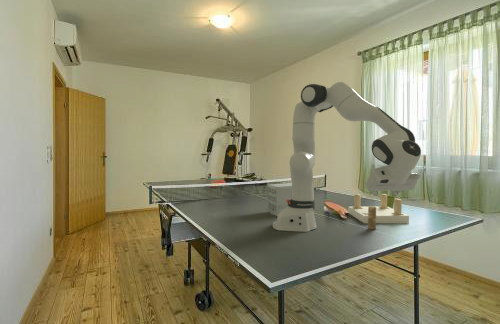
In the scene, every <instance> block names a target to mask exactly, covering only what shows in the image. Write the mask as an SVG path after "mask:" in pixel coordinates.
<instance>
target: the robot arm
mask: <svg viewBox="0 0 500 324" xmlns="http://www.w3.org/2000/svg"><path fill="white" fill-rule="evenodd" d="M300 100H301V101H299V102H298V103H296V104H295V106H294V110H293V118H292V145H293V154H292V155H291V156H290V157H289V158H290V159H289V170H290V172H289V173H290V178H291V179H290V181H291V183H292V199H290V200H289V199H287V200H286V202H287V203H288V207H286V208H285V209H284V210H282V211H281V212H280V213H279V214H278V216H277V218H276V221H273V222H272V228H273V229H274V230H277V231H285V232H286V231H287V232H301V233H302V232H304V233H305V232H306V233H308V232H310V231H312V230H315V229H317V222H316V218H315V208H316V207H315V206H316V205H315V199H314V198H315V197H314V196H315V195H314V194H315V193H314V190H315V187H314V186H315V184H314V174H313V168H314V167H315V165H316V142H315V133H316V131H315V129H316V115H317V113H322V112H324V111H327V110H330V109H332V108H334V109H335V110H336V111H337V112H338V114H339V115H340V116H341V117H342V118H343V119H345V120H346V121H349V122H370V123H371V122H372V123H373V124H375V125H377V126H378V127H379V128H380V129H381V130H382V131H383V132H385V133H386V134H385V135H383V136H381V137H378V138H376V139H375V140H373V141H372V143H371V152H372V155H373V156H374V157H375V158H376V159H377V160H378V161H380V162H382V163H383V164H385V165H384V166H381V167H377V168H373V169H372V173H371V174H370V175H369V176H368V177H367V179H366V182H365V187H366V188H365V189H366V190H367V191H368V192H372V195H373V196H378V194H379V193H378V191H379V192H380V191H382V192H385V191H386V192H387V191H388V192H389V191H392V192H393V195H394V196H398V195H399V194H400V193H402V192H404V191H412V190H414V189H415V188H416V186H417V184H418V180H419V179H420V177H421V175H420V174H419V173H417V172H416V173H412V171H413V170H414V169H415V168H416V167H417V165H418V163H419V161H420V158H421V156H422V149H421V146H420V145H419V144H418V143H417V142H416V138H415V135H414V133H413V132H412V131H411V130H410V129H409V128H407V127H404V126H402V125H401V124H400V123H399V122H398V121H396V120H395V119H394V118H392V116H390V115H389V114H388V113H386V111H384V110H383V109H381V108H380V107H379V106H377V105H376V104H373V103H370V102H368V101H367V100H366V99H364V98H363V97H361V95H359V94H358V93H357V91H356V90H354V89H353V88H352V87H351V86H350V85H348V84H347V83H345V82H343V81H337V82H335V83H333V84H332V85H331V86H330V87H327V86H326V85H321V84H317V83H311V84H310V83H309V84H307V85H305V86H304V87H303V88H302V90H301V92H300Z"/></svg>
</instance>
